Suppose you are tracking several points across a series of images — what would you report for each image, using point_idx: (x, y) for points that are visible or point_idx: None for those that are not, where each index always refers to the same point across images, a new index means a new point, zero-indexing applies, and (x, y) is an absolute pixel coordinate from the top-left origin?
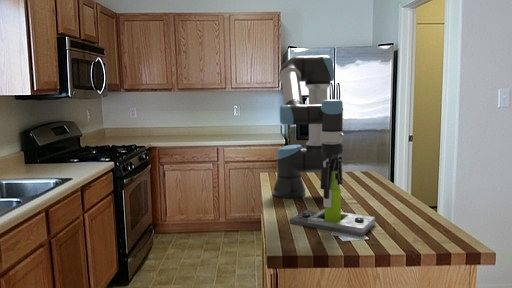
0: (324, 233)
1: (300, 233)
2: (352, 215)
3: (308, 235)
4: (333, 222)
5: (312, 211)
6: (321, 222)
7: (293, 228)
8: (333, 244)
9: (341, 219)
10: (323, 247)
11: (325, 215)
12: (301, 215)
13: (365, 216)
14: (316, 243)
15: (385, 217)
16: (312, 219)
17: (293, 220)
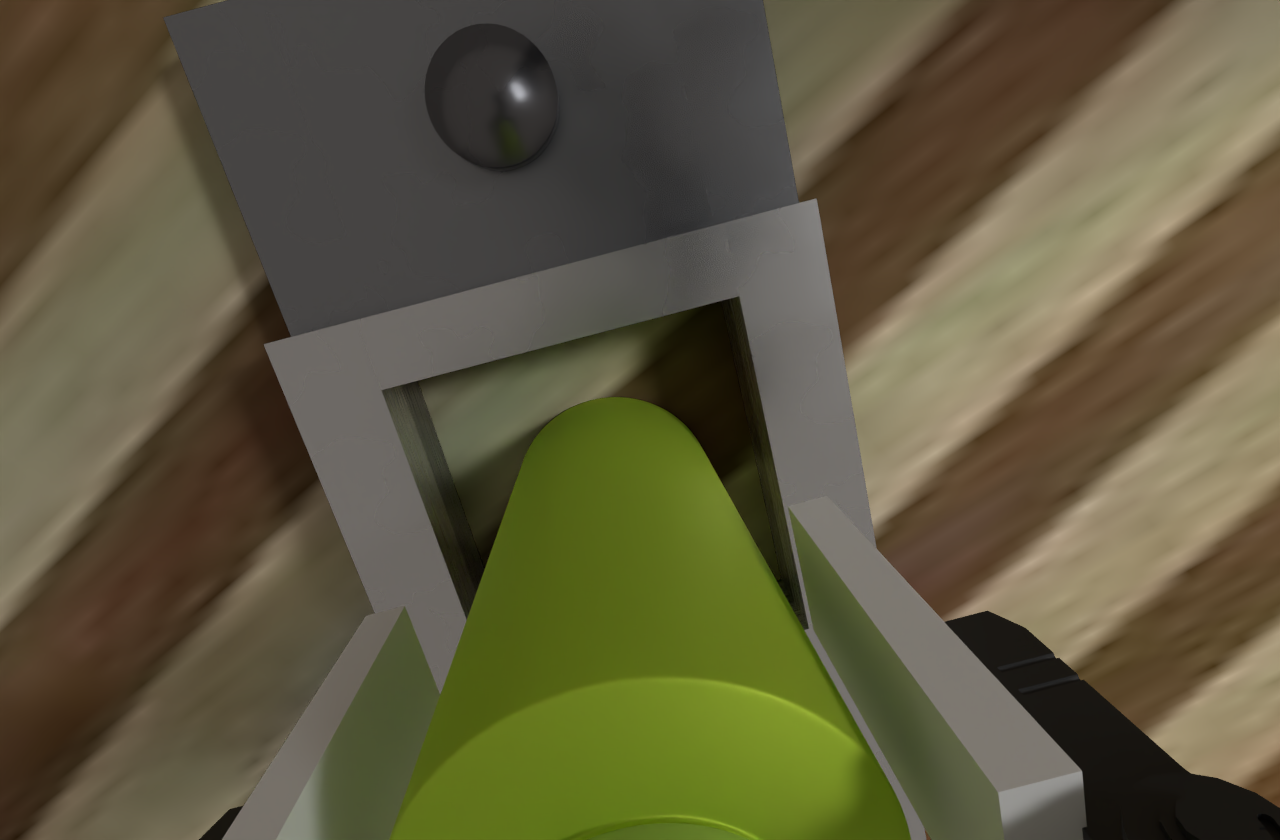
0: (300, 614)
1: (62, 433)
2: (830, 668)
3: (104, 538)
4: (433, 673)
5: (740, 26)
6: (354, 537)
7: (99, 245)
8: (155, 835)
9: (771, 511)
10: (20, 824)
11: (511, 494)
12: (453, 28)
13: (893, 782)
14: (26, 729)
15: (1168, 736)
16: (301, 411)
17: (196, 93)
